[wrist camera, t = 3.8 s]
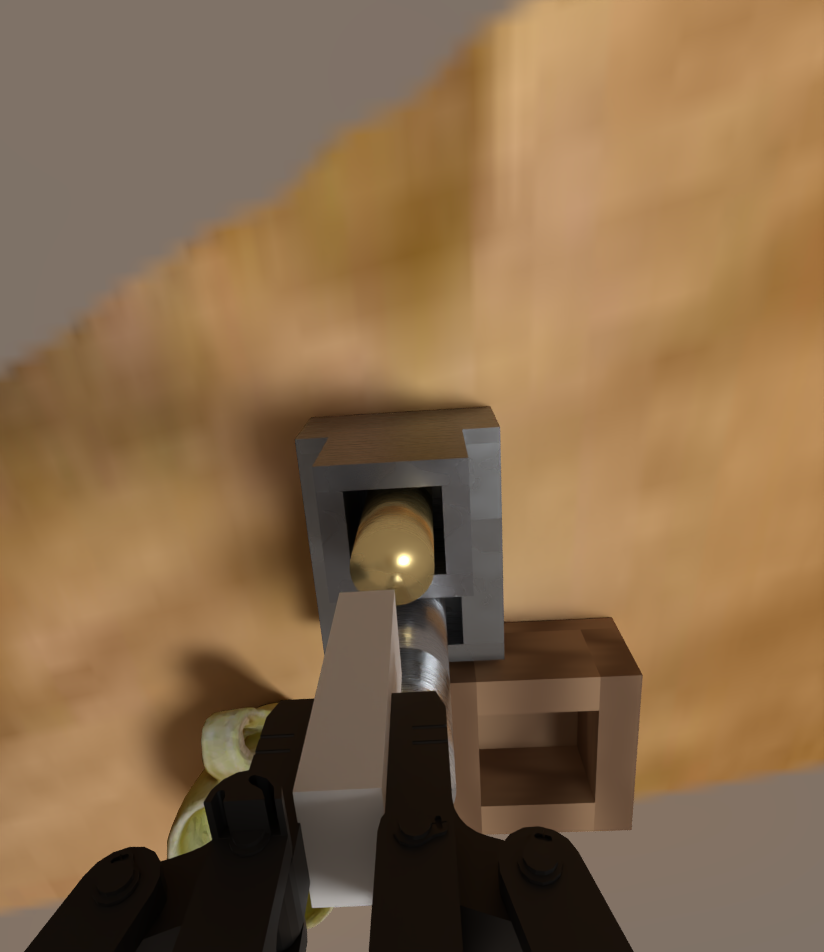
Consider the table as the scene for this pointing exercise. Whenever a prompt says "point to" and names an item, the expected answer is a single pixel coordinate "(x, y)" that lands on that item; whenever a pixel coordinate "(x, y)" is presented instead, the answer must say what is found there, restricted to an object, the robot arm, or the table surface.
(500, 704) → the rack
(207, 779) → the mug
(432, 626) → the brushed metal rod
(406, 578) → the yellow capsule
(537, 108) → the table surface
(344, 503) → the block
